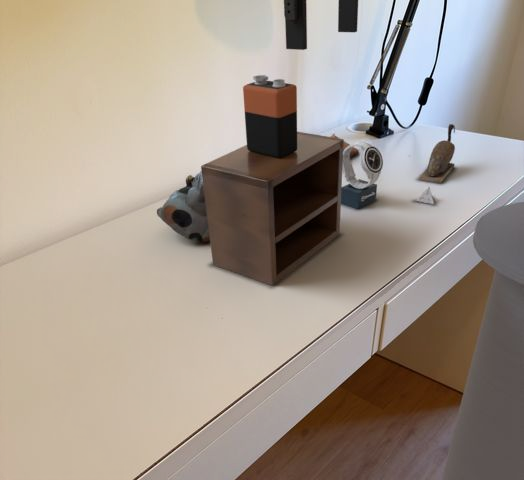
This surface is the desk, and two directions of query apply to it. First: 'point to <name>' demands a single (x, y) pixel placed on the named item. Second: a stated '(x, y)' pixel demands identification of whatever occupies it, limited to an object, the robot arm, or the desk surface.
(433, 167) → the figurine
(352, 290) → the desk surface
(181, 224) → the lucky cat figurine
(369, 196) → the watch
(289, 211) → the shelf
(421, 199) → the tetrahedral die
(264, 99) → the battery
